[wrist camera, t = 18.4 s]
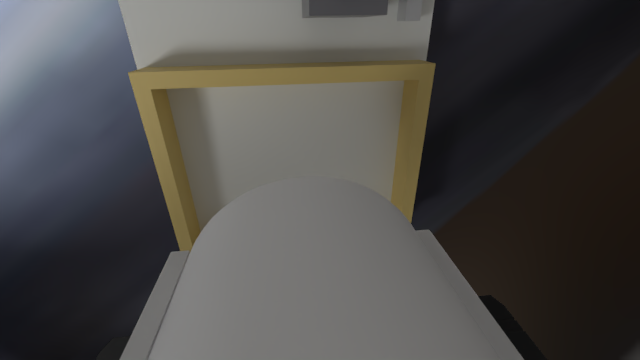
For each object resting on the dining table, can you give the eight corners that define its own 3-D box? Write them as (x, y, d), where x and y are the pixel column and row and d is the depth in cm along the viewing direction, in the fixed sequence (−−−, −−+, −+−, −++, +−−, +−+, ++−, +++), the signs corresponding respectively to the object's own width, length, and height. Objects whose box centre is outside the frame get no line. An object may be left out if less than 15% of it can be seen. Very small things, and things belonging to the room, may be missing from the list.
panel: (193, 236, 29) (179, 270, 25) (50, -313, 14) (-41, -449, 10) (395, 219, 31) (412, 248, 27) (456, -276, 16) (515, -376, 12)
